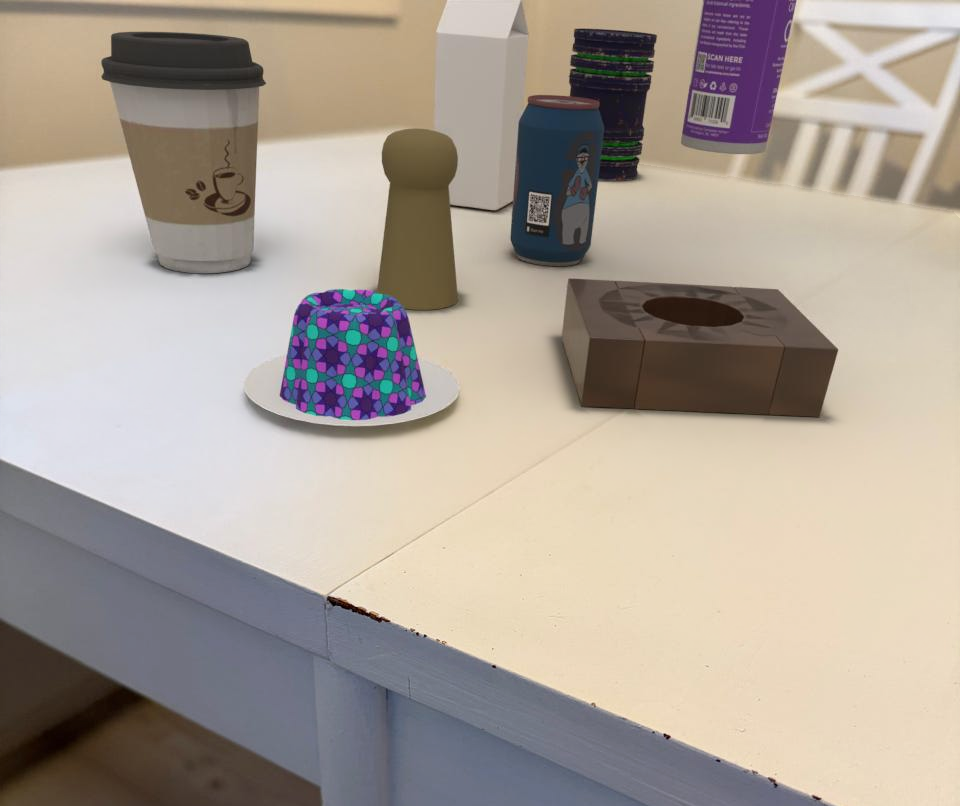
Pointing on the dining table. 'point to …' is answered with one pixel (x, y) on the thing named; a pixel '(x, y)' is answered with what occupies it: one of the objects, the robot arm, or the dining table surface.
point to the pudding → (351, 365)
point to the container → (736, 74)
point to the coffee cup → (190, 142)
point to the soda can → (556, 179)
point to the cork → (419, 220)
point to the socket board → (694, 349)
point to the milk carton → (481, 96)
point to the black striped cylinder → (615, 92)
